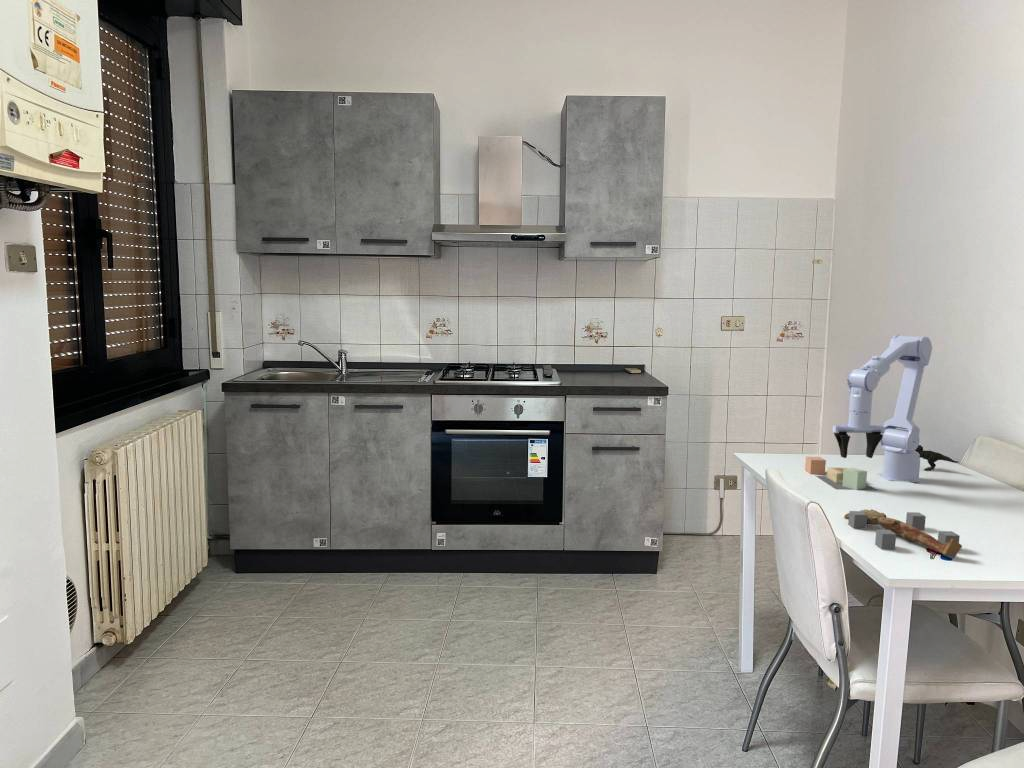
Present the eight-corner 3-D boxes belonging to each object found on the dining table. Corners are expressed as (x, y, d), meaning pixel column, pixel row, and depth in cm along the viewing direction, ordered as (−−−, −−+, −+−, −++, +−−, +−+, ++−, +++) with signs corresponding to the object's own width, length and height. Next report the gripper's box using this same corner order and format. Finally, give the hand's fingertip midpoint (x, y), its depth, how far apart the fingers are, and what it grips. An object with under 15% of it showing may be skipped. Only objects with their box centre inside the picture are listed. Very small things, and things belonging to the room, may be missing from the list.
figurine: (950, 535, 158) (847, 490, 186) (934, 559, 158) (834, 511, 186) (969, 551, 161) (865, 505, 189) (954, 575, 160) (852, 525, 188)
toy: (912, 465, 246) (914, 441, 245) (961, 474, 234) (963, 449, 233) (905, 467, 243) (907, 443, 242) (955, 476, 231) (957, 451, 230)
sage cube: (865, 487, 215) (867, 471, 214) (856, 489, 212) (857, 472, 212) (851, 484, 218) (852, 467, 218) (842, 486, 216) (843, 469, 215)
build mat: (854, 478, 227) (854, 476, 227) (877, 491, 212) (877, 490, 212) (815, 477, 227) (815, 475, 227) (835, 490, 213) (835, 489, 212)
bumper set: (917, 526, 181) (919, 512, 181) (958, 550, 164) (959, 535, 164) (848, 524, 181) (849, 510, 181) (881, 549, 165) (882, 533, 164)
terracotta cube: (819, 472, 234) (820, 456, 233) (824, 475, 230) (825, 460, 229) (804, 471, 234) (805, 456, 233) (810, 475, 230) (811, 459, 229)
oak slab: (849, 477, 226) (850, 467, 226) (859, 483, 219) (860, 473, 219) (826, 476, 226) (827, 467, 226) (836, 482, 219) (836, 473, 219)
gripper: (877, 408, 217) (873, 454, 219) (828, 408, 216) (825, 453, 218) (890, 413, 210) (886, 459, 212) (840, 412, 209) (837, 459, 211)
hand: (856, 457), depth 214 cm, fingers open, 7 cm apart
